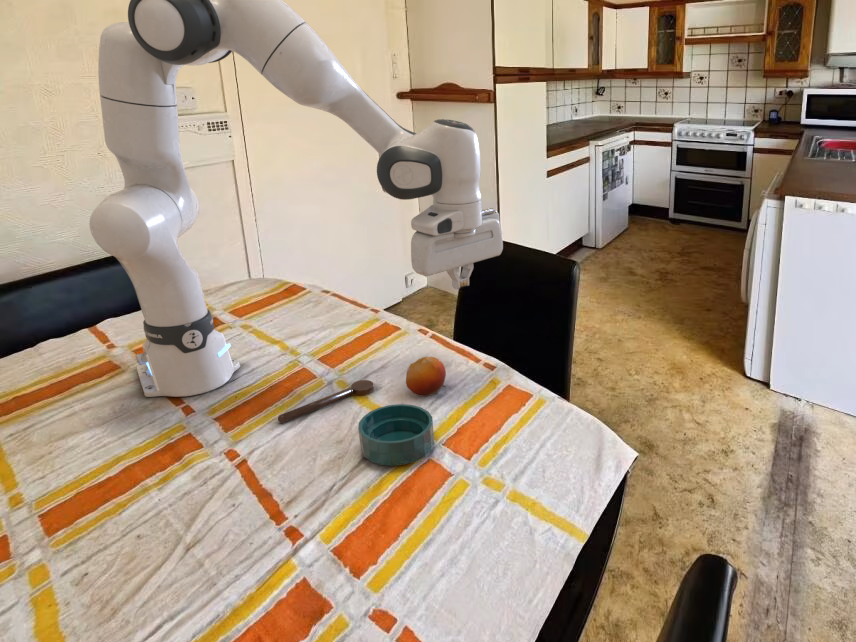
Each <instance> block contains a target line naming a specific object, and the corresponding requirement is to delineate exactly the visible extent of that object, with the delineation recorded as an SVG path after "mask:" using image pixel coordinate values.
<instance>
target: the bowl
mask: <svg viewBox="0 0 856 642" xmlns="http://www.w3.org/2000/svg"><path fill="white" fill-rule="evenodd" d="M433 419H434V418H433V416H432V414H431V413H430V412H429V410H427V409H425V408H423V407H421V406H417V405H414V404H405V403H397V404H396V403H395V404H387V405H385V406H379V407H378V408H375V409H373V410H370V411H369V412H368V413H366V414H365V415H363V416H362V418H361V419H360V421H359V422H358V427H357V431H358V437H359V444H360V450H361V451H360V452H361V453H362V456H363V457H364V458H366V460H368V461H370V462H371V463H374V464H378V465H382V466H391V467H392V466H393V467H395V466H404V465H409V464H411V463H415V462H417V461H419V460H422V459H423V458H425V457H426V456H427V455H429V453H430V452H431V451H432V450H433V448H434V445H435V433H434V420H433Z"/></svg>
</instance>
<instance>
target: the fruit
mask: <svg viewBox="0 0 856 642" xmlns="http://www.w3.org/2000/svg"><path fill="white" fill-rule="evenodd" d="M446 376H447V371H446V367H445V365H444V363H443V362H442V361H441V360H440V359H439V358H437V357H435V356H423V357H421V358H418V359H417V360H416V361H414V362H412V363H410V364H409V366H408V368H407V370H406V374H405V385H406V388H407V389H408V390H410V391H411V392H412V393H413V394H414V395H417V396H419V397H428V396H433V395H434V396H438V393H439V392H440V389H441V388H442V387H444V388H447V386H445V380H446Z"/></svg>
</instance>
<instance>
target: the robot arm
mask: <svg viewBox="0 0 856 642" xmlns="http://www.w3.org/2000/svg"><path fill="white" fill-rule="evenodd" d="M127 19H128V20H127V21H128V22H127V21H126V22H125V21H124V22H123V21H122V22H117V23H113V24H109V25H108V26H106V27H105V28H104V29H103V30H102V32H101V34H100V39H99V47H98V48H99V49H98V70H97V71H98V73H97V74H98V87H99V88H98V90H99V99H100V108H101V109H100V110H101V117H102V118H101V119H102V127H103V136H104V144H105V145H106V147H107V149H108V150H109V152H110V153H112V154H113V155H114V157H115V158H116V161H117V162H118V165H119V167H120V169H121V173H122V176H123V180H124V187H123V189H121V190H118V191H116V192H113V193H111V194H109V195H107V196H106V197H105V198H104V199H102V201H101V202H100V203H99V204H98V205H97V206H96V207H95V209H93V211H92V213H91V214H90V217H89V229H90V234H91V236H92V238H93V240H94V242H95V243H96V244H97V245H98V246H99V247H100V249H102V250H103V251H104V252H106V253H107V254H109V255H110V256H113V258H115V259H116V260H117V261H118V262H119V264H120V265H121V267H122V269H124V271H125V273H126V274H127V276H128V278H129V279H130V282H131V283H132V286H133V288H134V291H135V294H136V296H137V297H136V298H137V300H138V303H139V306H140V309H141V312H142V316H143V318H144V319H143V321H142V323H143V332H144V335H145V341H144V342H143V344H142V346H141V348H142V351H143V352H142V353H137V354H135V358H136V362H137V364H136V372H137V375H138V379H139V382H140V385H141V389H142V391H143V395H144V397H146V398H155V397H174V398H181V397H192V396H197V395H200V394H205V393H208V392H210V391H213V390H216V389H217V388H220V387H222V386H223V385H225V384H226V383H227V382H229V381H230V380H231V379H232V377H233V374H234V372H236V371H237V370H239V369H240V368H241V364H240V362H239V361H238V360H237V359H233V358H232V357H231V354H230V351H229V349H230V348H231V347H232V345H231V343H230V342H228V343H227V342H226V341H227V340H226V338H225V335H224V333H222V332H220V331H219V330H216V329H215V324H214V318H213V316H212V313H211V310H210V309H208V307H207V303H206V298H205V294H204V291H203V287H202V283H201V279H200V275H199V273H198V272H197V271H196V270H195V269H194V268H193V267H191V266H190V265H189V264H188V262H187V261H186V259H185V257H184V255H183V253H182V252H181V249H180V246H179V243H178V238H180V237H181V236H184V235H185V234H186V233H187V232H189V231H190V230H191V228H192V227H193V225H194V224H195V223H196V220H197V218H198V217H199V214H200V213H199V212H200V202H199V199H198V197H197V194H196V193H195V191H194V190H193V189H192V187H191V186H190V183H189V179H188V175H187V172H186V169H185V165H184V160H183V156H182V151H181V150H182V149H181V142H180V129H179V128H180V126H179V125H180V124H179V112H178V96H177V95H178V94H177V78H178V74H179V71H180V70H181V68H183V67H184V66H192V67H193V66H203V65H207V64H211V63H217V62H220V61H222V60H224V59H226V58H227V57H229V56H230V55H231V53H232V52H234V53H236V54H237V55H239V56H241V57H242V58H243V59H244V60H246V61H247V62H248V63H249V64H250V66H252V67H253V68H254V69H255V70H256V71H257V72H258V73H259V74H260V75H261V76H262V77H263V78H264V79H266V81H268V82H269V83H270V84H271V85H272V86H273V87H274V88H275V89H277V90H278V91H279V92H281V93H282V95H284V96H286V97H287V98H289V99H290V100H291V101H293V102H295V103H296V104H298V105H300V106H302V107H303V106H304V107H308V108H312V109H316V110H320V111H323V112H326V113H329V114H330V115H331V114H332V115H333V116H336V117H337V118H338V119H340V120H342V121H343V122H344V123H345V124H347V125H348V126H349V127H350V128H351V129H352V130H353V131H354V132H355V133H356V134H358V136H360V137H361V139H363V140H364V141H365V142H366V143H367V144H368V145H370V146H371V147H372V148H373V149H374V150H375V151H376V152H377V154H378V155H379V159H378V160H377V164H376V176H377V180H378V182H379V185H380V186H381V188H382V189H383V190H384V191H385V192H386V193H387V194H388V195H389V196H391V197H392V198H395V199H398V200H406V201H407V200H408V201H409V200H414V199H418V198H419V199H420V198H423V197H428V196H432V204H431V205H430V206H429V207H427V208H426V209H425V210H423V211H422V212H420V213H418V214H417V215H415V216H414V217H413V218H412V219H411V220H410V227H411V229H412V230H413V231H415V232H414V233H413V234H412V236H411V240H410V261H411V267H412V269H413V271H414V272H415V273H416V274H419V275H420V276H424V277H429V276H434V275H437V274H439V273H444V272H446V273H447V275H448V276H449V277H450V279H451V286H452V288H453V289H456V290H460V289H462V288H466V287H469V286H470V277H471V276H472V272H473V271H474V268H475V267H474V263H478V262H481V261H485V260H488V259H492V258H496V257H499V256H500V255H501V254H502V252H503V250H504V241H503V233H502V227H501V224H500V214H499V212H498V211H497V210H496V209H494V207H489V208H486V209H483V207H482V206H483V204H482V202H483V201H482V193H481V190H480V180H481V176H482V175H481V174H482V165H481V163H482V162H481V151H480V145H479V144H480V142H479V138H478V135H477V132H476V131H475V129H474V128H473V127H472V126H470V125H469V124H467V123H464V122H462V121H459V120H458V121H457V120H452V119H444V118H440V119H439V118H438V119H435V120H433V121H432V122H431V123H430V124H429V125H428V126H426V127H425V128H424V129H422V130H420V131H419V132H417V133H416V132H415V131H411V130H409V129H407V128H404V127H403V126H402V125H400V124H398V123H397V122H396V121H395V119H393V118H392V117H391V116H390V115H389V114H388V113H387V112H386V111H385V110H384V109H383V108H382V107H380V106H379V104H378V103H377V102H375V100H374V99H372V98H371V97H370V96H369V95H368V94H367V93H366V92H365V90H363V89H362V88H361V87H360V86H359V84H358V83H357V82H356V81H355V79H354V78H353V77H352V76H351V74H350V73H349V72H348V71H347V69H346V68H345V67H344V66H343V64H342V63H341V61H340V60H339V58H337V56H336V55H335V53H334V52H333V51H332V50H331V48H330V47H329V46H328V44H326V42H325V41H324V40H323V39H322V38H321V36H320V35H319V34H318V32H317V31H315V30H314V29H313V28H312V27H311V26H310V24H308V22H307V21H306V20H305V19H303V17H302V16H301V15H299V13H297V12H296V10H294V9H293V8H292V7H291V6H290V4H289V5H288V4H287V3H286V2H285V1H284V0H130V1H129V3H128V8H127ZM460 268H462V271H461V273H460V276H459V274H458V273H459V272H460Z"/></svg>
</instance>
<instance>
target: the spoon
mask: <svg viewBox="0 0 856 642" xmlns="http://www.w3.org/2000/svg"><path fill="white" fill-rule="evenodd" d="M374 391H375V384H374V382H373V381H372V380H368V379H361V380H356V381H354V382H353V383H351V385H350V387H347V388H345V389H343V390H340V391H337V392H334V393H332V394H329V395H327V396H325V397H321V398H319V399H317V400H314V401H312V402H309V403H306V404H304V405H302V406H299V407H296V408H294V409H292V410H289V411H286V412H284V413H281V414H279V415H278V417H277V421H278V422H279V423H280V424H285V423H288V422H289V421H290V422H291V421H292V420H294V419H297V418H299V417H302V416H304V415H307V414H310V413H312V412H315V411H317V410H320V409H322V408H324V407H327V406H329V405H332V404H334V403H336V402H337V403H338V402H340V401H341V400H344V399H346V398H349V397H352V396H353V395H355V396H359V397H361V396H362V397H363V396H368V395H371V394H372V393H373V392H374Z"/></svg>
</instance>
